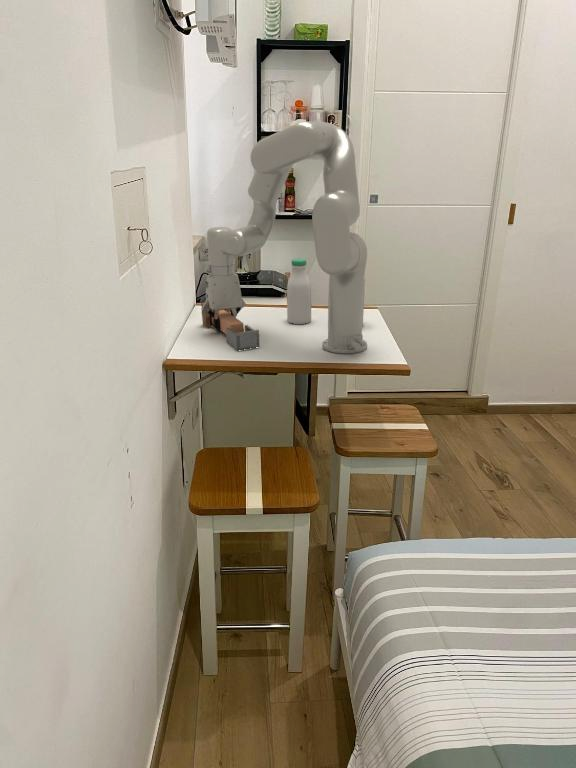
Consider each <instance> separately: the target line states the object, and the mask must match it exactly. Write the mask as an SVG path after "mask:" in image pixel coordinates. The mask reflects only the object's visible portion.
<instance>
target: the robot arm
mask: <svg viewBox="0 0 576 768" xmlns="http://www.w3.org/2000/svg"><path fill="white" fill-rule="evenodd" d="M316 158H321V160H323V168H322V169H323V170H322V171H323V173H322V176H323V177H322V179H323V184H324V186H323V187H324V194H322V195H321V196H320V197H319V198H318V199H317V200H316V201H315V204H314V206H313V209H312V213H311V214H312V217H311V218H312V219H311V221H312V222H311V223H312V230H313V231H312V232H313V239H314V247H315V249H314V250H315V255H316V261H317V263H318V266H319V268H320V269H321V270H322V271H323V272H324V273H325V274H327V275H329V278H328V280H329V281H328V295H327V296H328V299H327V301H328V304H327V305H328V311H327V313H328V314H327V338H325V339H324V340H323V341H322V343H321V345H322V346H321V347H322V348H323V349H324V350H325V351H327V352H330V353H333V354H334V353H335V354H342V355H343V354H346V355H347V354H356V353H360V352H363V351H365V350H366V349H367V348H368V343H367V341H366V340H364V339H363V337H364V336H363V328H362V316H363V317H364V313H363V293H364V278H365V275H366V273H365V272H366V266H367V259H368V248H367V243H366V241H365V239H363V237H361V235H359V234H357V233H355V232H351V231H350V227H351V226H352V225H354V224H355V223H356V222H357V221H358V220H359V217H360V214H361V213H360V212H361V211H360V210H361V206H360V198H359V196H360V195H359V187H358V177H357V170H356V169H357V168H356V167H357V165H356V154H355V149H354V145H353V142H352V140H351V138H350V136H349V135H348V133H346V131H345V130H343V128H341V127H339V126H337V125H334V124H333V123H330V122H325V121H300V122H296V123H295V124H291V125H290V126H288V127H285V128H284V129H282V130H279V131H277V132H275V133H273V134H271V135H268V136H265V137H264V138H262V139H259V141H257V142H256V143H255V144H254V145H253V147H252V149H251V151H250V164H251V167H252V168H253V169H254V170H255V171H254V173H253V176H252V178H251V181H250V184H249V186H248V188H247V193H248V196H249V197H250V198H251V199H252V201H253V208H252V209H253V210H252V213H251V216H250V219H249V220H248V223H247V225H246V226H243V227H240V228H237V229H236V228H235V229H231V228H230V227H226V226H216V227H210V228H209V229H207V232H206V241H207V257H208V258H207V259H208V265H207V267H204V273H205V274H208V275H207V277H206V285H205V300H204V302H203V303H204V304H203V306H202V307H201V312H202V311H204V312H206V313H208V314H209V315H211V316H212V317H213V324H214V327H213V329H214V330H215V331H216V332H218V333H219V332H222V331H221V330H220V319H219V317H218V315H219V310H223V309H229V310H230V314H231V315H232V316H234V317H235V318H237V316H238V314H239V313H240V311H241V310H242V309H243V308H245V306H247V303H246V302H245V301H244V299H243V298H242V291H241V285H240V279H239V275H238V273H236V272H235V270H236V269H235V257H244V256H246V255H247V256H248V255H249V254H251V253H254V252H257V251H259V250H261V249H262V248H263V247H264V245H265V244H266V243H267V240H268V239H269V237H270V234H271V232H272V230H273V227H274V224H275V221H276V215H277V214H276V213H277V202H278V200H279V197H280V195H281V193H282V190H283V188H284V186H285V184H286V181H287V179H288V177H289V174H290V172H291V170H292V168H293V165H294V164H297V163H299V162H301V161H304V160H307V159H316ZM364 294H365V293H364ZM208 307H210V308H211V309H212V311H211V310H209V309H208Z"/></svg>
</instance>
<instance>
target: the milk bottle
mask: <svg viewBox="0 0 576 768" xmlns="http://www.w3.org/2000/svg"><path fill="white" fill-rule="evenodd" d="M306 267H307V259H305V258H293V259H291V269H292V270H291V273H290V276H289V278H288V280H287V287H286V307H287V308H286V310H287V311H286V313H287V314H286V315H287V316H286V317H287V322H288V323H289V322H290V323H289V324H292V323H293V325H306V324H309V323H310V322H311V321H312V284H311V281H310V278H309V276H308V273H307V270H306ZM305 323H306V324H305Z"/></svg>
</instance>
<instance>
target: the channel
mask: <svg viewBox="0 0 576 768" xmlns="http://www.w3.org/2000/svg"><path fill="white" fill-rule="evenodd" d="M225 335H226V337H225V338H226V343H227V344H228V345H229V346H230V347H232V348H233V349H234V348H235V349H234V350H235V351H237V352H240V351H239V350H243V351H245V350H244V349H249V350H251V349H250V348H255V349H257V348H256V347H260V330H259V329H254V328H253V327H252V326H250V325H248V324H244V332H239V333H235V332H234V331H233V330H231V329H230V328H226V334H225Z"/></svg>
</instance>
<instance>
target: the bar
mask: <svg viewBox="0 0 576 768" xmlns="http://www.w3.org/2000/svg"><path fill="white" fill-rule="evenodd" d="M209 310H211V311H212V309H209ZM218 317H219V319H220V330H221V331H220V332H222V333H224V334H225V335H226V328H230V329H231V330H233V331H234V332H235V333H239V332H245V325H244V322H242V321H241V320H239V319H238V318H237V317H236V318H235V317H234V316H232V315H231V314H229V313H228V312H227V311H225V310H224V309H223V310H219V315H218ZM210 322H211V323H212V324H213V317H212V316H211V315H210Z"/></svg>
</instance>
